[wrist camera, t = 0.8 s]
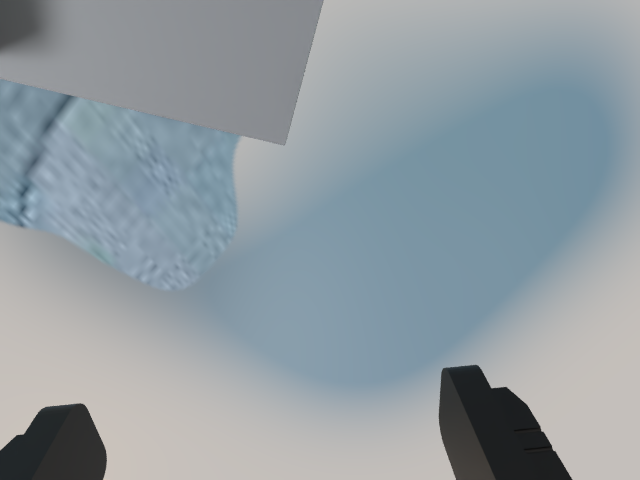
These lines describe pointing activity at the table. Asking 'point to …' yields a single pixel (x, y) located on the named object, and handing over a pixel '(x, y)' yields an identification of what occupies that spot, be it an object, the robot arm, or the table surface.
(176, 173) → the table surface
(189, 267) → the table surface
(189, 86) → the card
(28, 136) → the table surface
